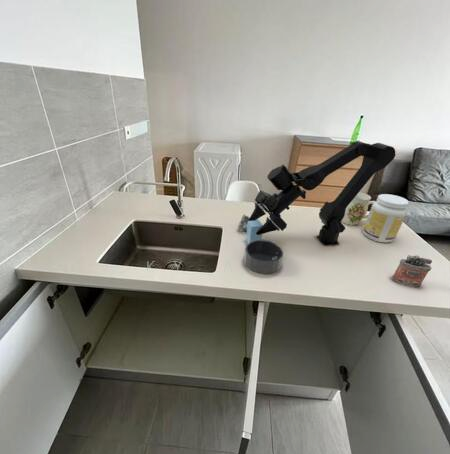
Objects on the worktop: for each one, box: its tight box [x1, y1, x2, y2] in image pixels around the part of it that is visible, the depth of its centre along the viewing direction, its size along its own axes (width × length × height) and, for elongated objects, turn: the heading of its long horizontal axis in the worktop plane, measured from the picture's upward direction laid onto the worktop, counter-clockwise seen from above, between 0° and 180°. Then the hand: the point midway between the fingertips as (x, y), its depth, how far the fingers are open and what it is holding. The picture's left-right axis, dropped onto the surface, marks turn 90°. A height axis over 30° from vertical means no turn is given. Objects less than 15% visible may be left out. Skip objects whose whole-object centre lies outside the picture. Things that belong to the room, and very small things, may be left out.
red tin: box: [390, 254, 433, 289], centre depth 75 cm, size 8×3×10 cm, turn 69°
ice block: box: [245, 219, 264, 244], centre depth 91 cm, size 4×4×9 cm
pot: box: [243, 239, 284, 275], centre depth 81 cm, size 12×12×6 cm
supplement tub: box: [362, 193, 410, 243], centre depth 99 cm, size 12×12×17 cm
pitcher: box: [339, 191, 376, 226], centre depth 110 cm, size 11×18×14 cm, turn 82°
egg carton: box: [238, 213, 260, 234], centre depth 103 cm, size 11×8×4 cm
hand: (252, 228), depth 90 cm, fingers open, 9 cm apart
